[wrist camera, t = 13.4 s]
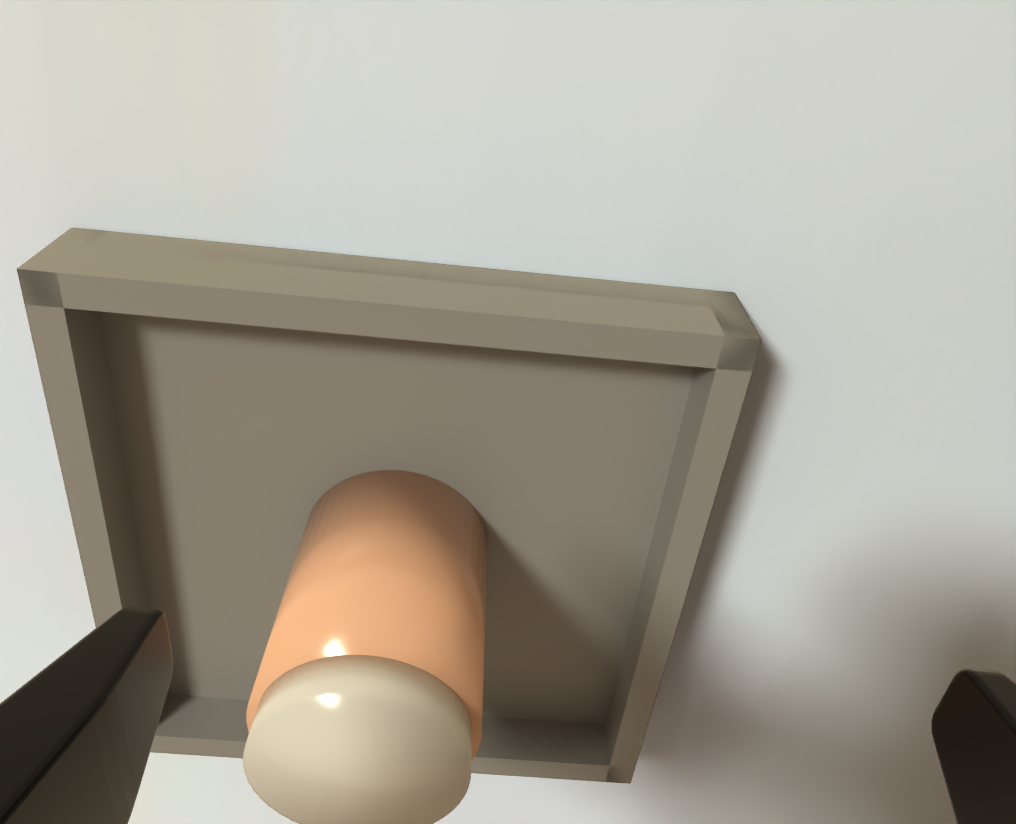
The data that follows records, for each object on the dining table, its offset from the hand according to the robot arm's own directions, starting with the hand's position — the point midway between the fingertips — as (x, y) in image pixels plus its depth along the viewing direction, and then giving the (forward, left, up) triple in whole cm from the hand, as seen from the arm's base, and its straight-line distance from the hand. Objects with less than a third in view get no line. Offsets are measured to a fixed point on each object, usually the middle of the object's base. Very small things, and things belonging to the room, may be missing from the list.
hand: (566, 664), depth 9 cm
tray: (+3, +8, -12) cm, 15 cm away
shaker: (+3, +8, -11) cm, 14 cm away
